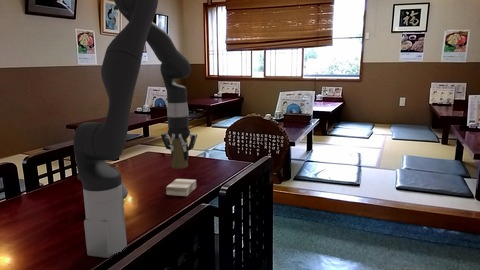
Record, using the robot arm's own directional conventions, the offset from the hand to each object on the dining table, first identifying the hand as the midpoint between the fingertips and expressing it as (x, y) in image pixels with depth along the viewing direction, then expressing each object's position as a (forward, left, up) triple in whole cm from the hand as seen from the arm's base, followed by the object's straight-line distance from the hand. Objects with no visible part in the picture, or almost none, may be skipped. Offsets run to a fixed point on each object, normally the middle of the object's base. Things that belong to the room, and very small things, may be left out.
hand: (180, 160), depth 135 cm
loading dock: (0, 0, -12) cm, 12 cm away
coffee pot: (-20, +20, -12) cm, 31 cm away
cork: (0, 0, -2) cm, 3 cm away
